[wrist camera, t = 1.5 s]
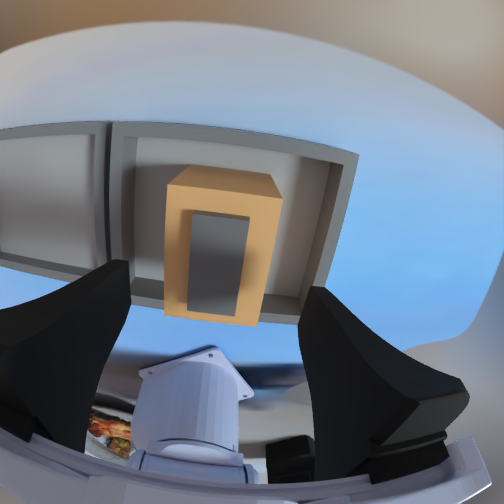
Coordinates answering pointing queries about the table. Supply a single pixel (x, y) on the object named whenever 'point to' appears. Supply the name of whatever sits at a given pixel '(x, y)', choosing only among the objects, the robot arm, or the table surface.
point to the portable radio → (291, 461)
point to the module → (219, 243)
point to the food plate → (110, 434)
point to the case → (233, 157)
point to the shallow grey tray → (55, 198)
